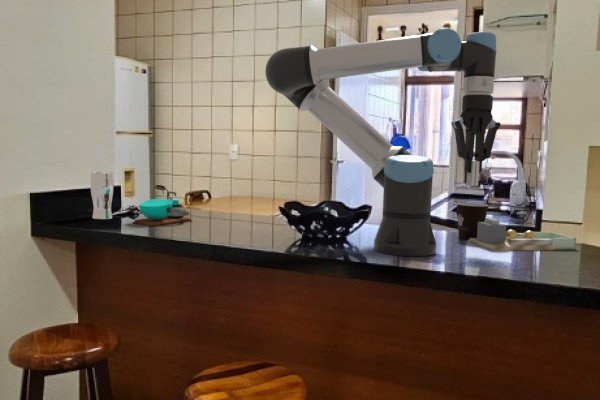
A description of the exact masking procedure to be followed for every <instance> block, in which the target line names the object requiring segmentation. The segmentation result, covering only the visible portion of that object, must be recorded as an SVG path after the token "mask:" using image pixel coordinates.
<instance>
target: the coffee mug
mask: <svg viewBox="0 0 600 400" xmlns="http://www.w3.org/2000/svg"><path fill="white" fill-rule="evenodd" d="M488 208H489V205H488V204H485V203H474V202H457V203H456V217H457V230H458V231H457V233H458V239H460V240H462V241H463V240H464V241H469V238H477V229H478V222H485V218H487V213H488Z"/></svg>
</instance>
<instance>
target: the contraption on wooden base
mask: <svg viewBox="0 0 600 400" xmlns="http://www.w3.org/2000/svg"><path fill="white" fill-rule="evenodd" d="M154 188H155V190H159V191H162V194H163V195H162V196H163V197H164V199H163V198H160V199H159V198H153V199H148V200H145V201H143V202H140V203H139V204H138V206H139V209H140V212H141V213H142V214H143V216H144V217H145V218H140V219H139V218H137V219H134V221H132V224H133V225H138V226H144V227H145V226H146V227H147V226H148V227H163V226H170V225H178V224H184V223H191V222H193V219H191V218H190V217H188V216H189V215H190V214H191V213H190V212H191V211H189V210H188V208H187V207H186V205H184V204H181V203H180V199H173V197H171V195H174V197H176V196H177V192H176V191H170V190H168V189H167V188H166V186H165V185H161V184H155V185H154ZM165 191H166V195H165ZM170 194H171V195H170Z"/></svg>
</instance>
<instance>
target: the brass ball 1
mask: <svg viewBox="0 0 600 400" xmlns="http://www.w3.org/2000/svg"><path fill="white" fill-rule="evenodd" d="M517 233H518V232H517V231H516V230H515V229H508V230H506V237H505V238H506V239H507V240H509V239H517V236H518V235H517Z"/></svg>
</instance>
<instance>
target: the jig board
mask: <svg viewBox="0 0 600 400" xmlns="http://www.w3.org/2000/svg"><path fill="white" fill-rule="evenodd" d="M524 233H525V232H523V233H522V232H517V235H518V236H517V239H509V240H507V239H506V238H505V244H486V243H483V242H481V241H478V240H477V238H469V240H468V243H470V244H473V245H475V246H476V245H477V246H478V247H480V248H481V247H482V248H484V249H488V250H490V251H555V250H556V249H555V246H554V245H552V244H553V239H524V238H523V235H524Z"/></svg>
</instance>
